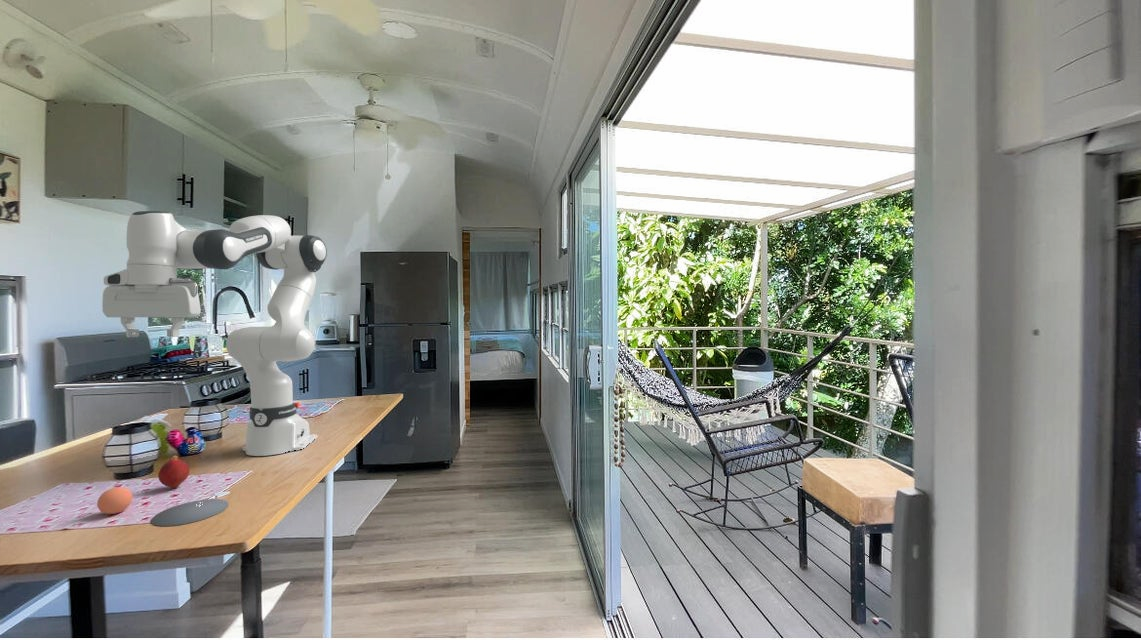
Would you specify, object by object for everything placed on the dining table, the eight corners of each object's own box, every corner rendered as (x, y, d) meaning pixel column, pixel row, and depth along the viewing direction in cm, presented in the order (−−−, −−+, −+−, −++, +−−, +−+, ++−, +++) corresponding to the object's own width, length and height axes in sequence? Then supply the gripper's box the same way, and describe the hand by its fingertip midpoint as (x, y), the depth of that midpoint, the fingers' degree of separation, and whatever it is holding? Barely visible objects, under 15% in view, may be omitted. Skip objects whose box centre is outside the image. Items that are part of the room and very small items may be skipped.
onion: (171, 493, 112) (170, 460, 111) (152, 491, 113) (151, 459, 113) (195, 484, 117) (194, 453, 117) (177, 482, 118) (176, 451, 118)
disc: (186, 500, 108) (186, 499, 108) (242, 499, 108) (242, 498, 108) (133, 526, 95) (133, 525, 95) (197, 526, 95) (197, 525, 95)
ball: (115, 507, 104) (114, 483, 104) (139, 507, 104) (139, 483, 104) (89, 518, 98) (89, 493, 98) (116, 518, 98) (115, 492, 98)
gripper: (207, 279, 113) (207, 336, 113) (122, 279, 112) (122, 336, 112) (186, 277, 106) (186, 337, 106) (95, 277, 106) (96, 337, 106)
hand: (152, 336), depth 109 cm, fingers open, 8 cm apart
